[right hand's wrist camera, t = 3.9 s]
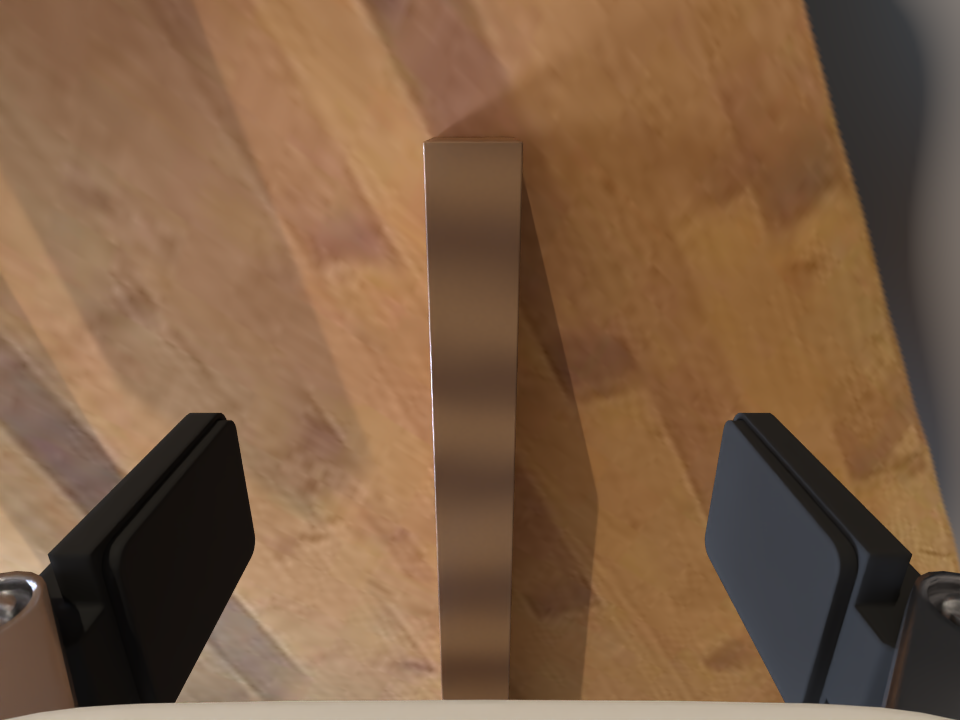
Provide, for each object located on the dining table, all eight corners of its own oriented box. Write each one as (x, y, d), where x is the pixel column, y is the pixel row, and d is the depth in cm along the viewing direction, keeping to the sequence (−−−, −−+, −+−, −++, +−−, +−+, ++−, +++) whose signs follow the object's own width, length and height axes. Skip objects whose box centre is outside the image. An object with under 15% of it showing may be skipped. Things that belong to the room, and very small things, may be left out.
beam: (432, 137, 33) (422, 141, 27) (514, 137, 33) (523, 141, 27) (450, 768, 53) (447, 849, 47) (501, 767, 53) (504, 848, 47)
